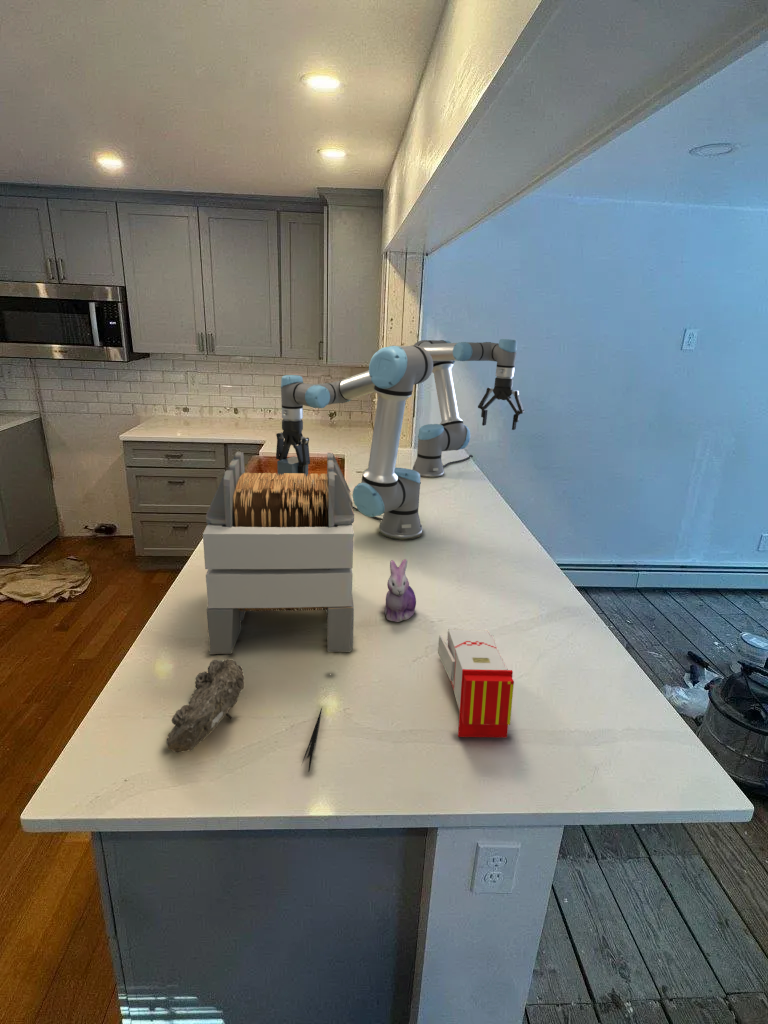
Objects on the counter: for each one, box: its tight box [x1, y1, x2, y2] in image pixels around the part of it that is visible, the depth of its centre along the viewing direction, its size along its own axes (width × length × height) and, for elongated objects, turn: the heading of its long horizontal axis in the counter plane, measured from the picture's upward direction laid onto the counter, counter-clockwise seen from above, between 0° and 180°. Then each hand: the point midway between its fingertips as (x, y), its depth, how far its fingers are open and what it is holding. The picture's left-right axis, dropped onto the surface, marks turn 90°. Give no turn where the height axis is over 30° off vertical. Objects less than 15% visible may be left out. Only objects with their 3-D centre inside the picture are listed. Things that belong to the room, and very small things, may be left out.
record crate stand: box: [202, 451, 355, 655], centre depth 137 cm, size 34×33×41 cm
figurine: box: [384, 558, 417, 623], centre depth 145 cm, size 9×10×15 cm
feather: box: [301, 673, 332, 771], centre depth 108 cm, size 2×28×2 cm
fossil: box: [166, 658, 245, 754], centre depth 106 cm, size 22×10×15 cm
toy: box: [437, 628, 515, 738], centre depth 117 cm, size 12×13×30 cm
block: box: [276, 456, 309, 477], centre depth 211 cm, size 7×9×9 cm
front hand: (293, 480), depth 212 cm, fingers closed on block, 7 cm apart
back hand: (498, 427), depth 247 cm, fingers open, 13 cm apart
